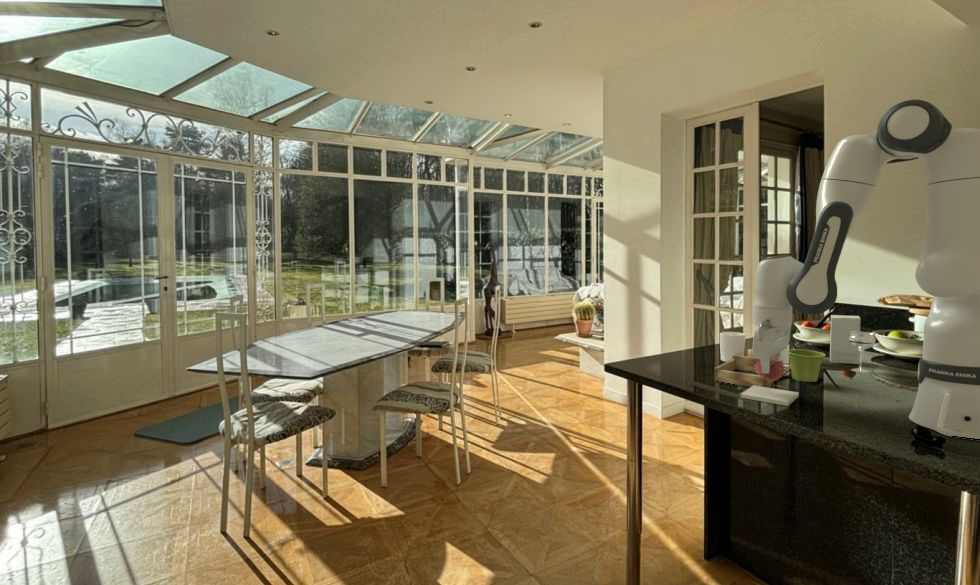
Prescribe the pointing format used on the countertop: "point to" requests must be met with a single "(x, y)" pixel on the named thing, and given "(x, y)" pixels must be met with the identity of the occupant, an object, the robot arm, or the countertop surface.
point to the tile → (770, 395)
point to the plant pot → (805, 364)
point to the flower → (775, 372)
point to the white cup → (731, 345)
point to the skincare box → (843, 339)
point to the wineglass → (861, 344)
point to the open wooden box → (742, 363)
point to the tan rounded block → (749, 353)
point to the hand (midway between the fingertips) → (769, 370)
